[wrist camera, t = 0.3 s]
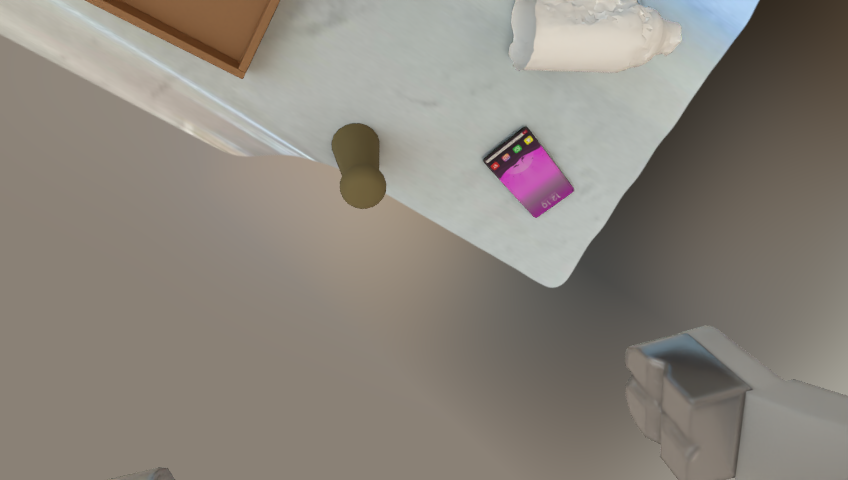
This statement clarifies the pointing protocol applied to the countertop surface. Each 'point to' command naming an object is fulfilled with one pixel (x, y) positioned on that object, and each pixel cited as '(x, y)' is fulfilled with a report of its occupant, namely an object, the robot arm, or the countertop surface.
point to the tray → (202, 26)
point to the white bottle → (588, 35)
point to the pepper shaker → (359, 165)
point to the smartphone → (529, 172)
